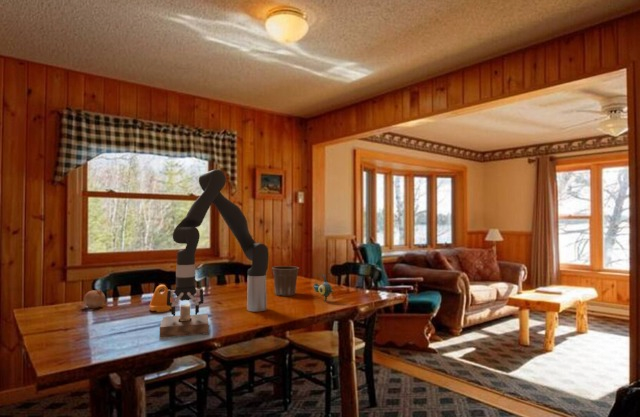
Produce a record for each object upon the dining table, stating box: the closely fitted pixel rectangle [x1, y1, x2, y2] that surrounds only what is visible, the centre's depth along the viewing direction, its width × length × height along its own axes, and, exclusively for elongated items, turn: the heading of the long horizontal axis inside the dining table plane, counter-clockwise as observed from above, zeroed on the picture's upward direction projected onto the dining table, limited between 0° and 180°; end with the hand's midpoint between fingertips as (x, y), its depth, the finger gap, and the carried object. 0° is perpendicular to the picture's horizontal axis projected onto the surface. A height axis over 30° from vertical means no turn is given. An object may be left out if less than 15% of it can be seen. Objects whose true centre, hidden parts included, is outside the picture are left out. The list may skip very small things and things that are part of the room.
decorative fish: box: [313, 273, 334, 302], centre depth 218 cm, size 13×12×6 cm
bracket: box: [148, 284, 173, 313], centre depth 195 cm, size 11×7×12 cm, turn 119°
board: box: [159, 313, 209, 338], centre depth 161 cm, size 18×16×4 cm
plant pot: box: [271, 265, 300, 297], centre depth 236 cm, size 16×16×16 cm
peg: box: [179, 304, 191, 322], centre depth 161 cm, size 4×4×10 cm
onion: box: [83, 289, 106, 309], centre depth 199 cm, size 10×9×10 cm
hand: (185, 314), depth 161 cm, fingers open, 8 cm apart
